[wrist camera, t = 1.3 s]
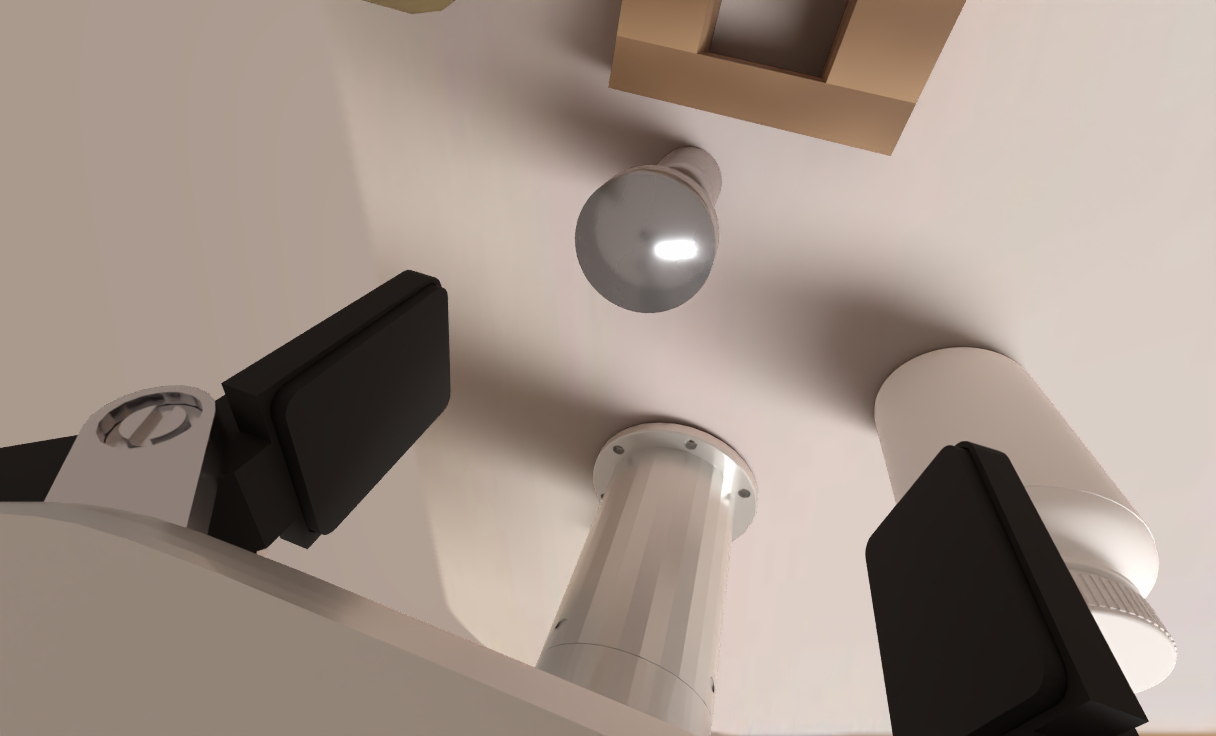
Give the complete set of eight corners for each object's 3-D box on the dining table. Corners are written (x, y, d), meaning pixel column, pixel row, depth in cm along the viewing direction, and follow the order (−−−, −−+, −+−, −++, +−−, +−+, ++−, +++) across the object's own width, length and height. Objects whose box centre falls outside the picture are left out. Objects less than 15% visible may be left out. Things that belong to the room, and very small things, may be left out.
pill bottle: (1071, 402, 27) (1306, 695, 15) (934, 473, 31) (1028, 739, 19) (966, 313, 26) (1125, 547, 14) (842, 400, 31) (880, 630, 19)
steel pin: (719, 242, 28) (691, 329, 19) (631, 217, 28) (567, 291, 20) (751, 143, 25) (734, 196, 16) (651, 118, 25) (586, 156, 17)
